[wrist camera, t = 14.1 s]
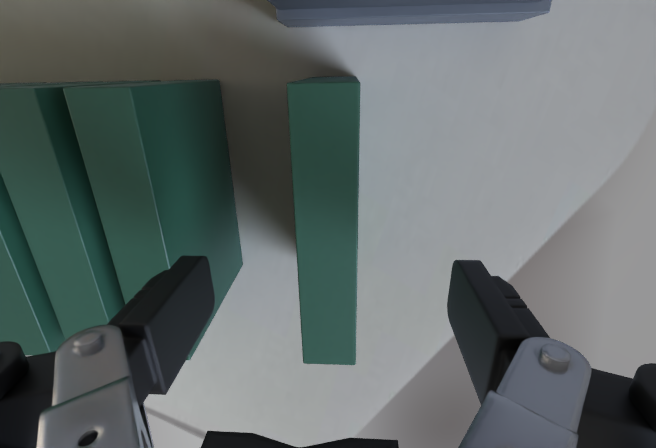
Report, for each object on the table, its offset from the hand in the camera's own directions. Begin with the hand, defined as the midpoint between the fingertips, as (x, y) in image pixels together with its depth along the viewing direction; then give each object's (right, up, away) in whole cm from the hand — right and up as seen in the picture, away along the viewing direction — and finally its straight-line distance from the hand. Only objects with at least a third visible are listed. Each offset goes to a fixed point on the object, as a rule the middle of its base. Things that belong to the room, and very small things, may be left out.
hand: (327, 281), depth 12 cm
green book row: (-17, +5, +12) cm, 21 cm away
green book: (0, +5, +10) cm, 11 cm away
